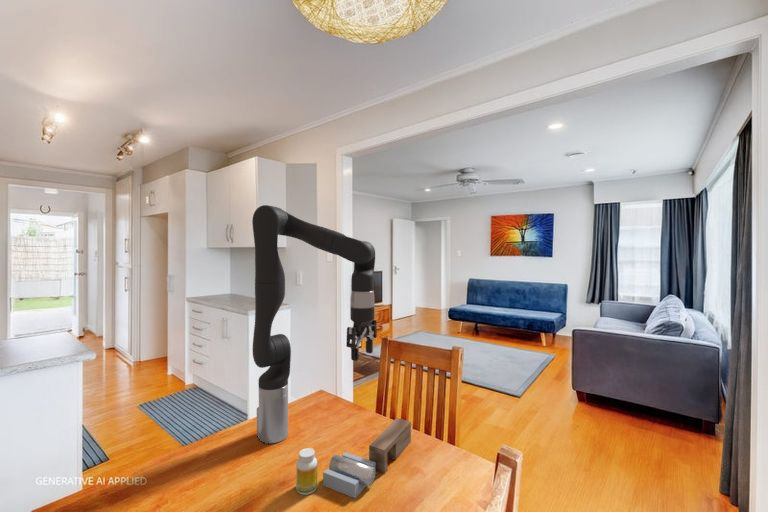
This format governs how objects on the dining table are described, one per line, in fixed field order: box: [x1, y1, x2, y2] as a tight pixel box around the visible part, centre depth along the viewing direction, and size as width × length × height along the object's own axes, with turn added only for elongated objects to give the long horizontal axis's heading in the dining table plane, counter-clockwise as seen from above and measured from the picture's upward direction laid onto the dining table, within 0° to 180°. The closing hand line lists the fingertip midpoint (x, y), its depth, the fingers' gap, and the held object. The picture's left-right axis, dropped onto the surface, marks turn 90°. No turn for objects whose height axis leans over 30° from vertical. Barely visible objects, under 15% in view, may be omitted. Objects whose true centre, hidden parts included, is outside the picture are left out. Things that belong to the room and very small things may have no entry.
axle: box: [328, 453, 377, 487], centre depth 94 cm, size 12×4×4 cm, turn 62°
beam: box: [368, 417, 412, 474], centre depth 106 cm, size 5×18×7 cm, turn 152°
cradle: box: [322, 451, 377, 499], centre depth 94 cm, size 10×10×4 cm
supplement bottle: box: [295, 447, 318, 496], centre depth 91 cm, size 5×5×10 cm
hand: (362, 356), depth 110 cm, fingers open, 8 cm apart
